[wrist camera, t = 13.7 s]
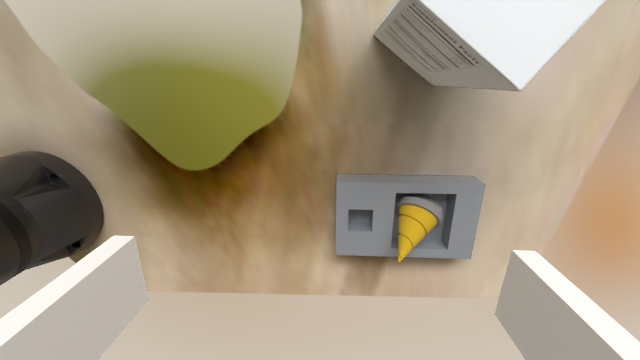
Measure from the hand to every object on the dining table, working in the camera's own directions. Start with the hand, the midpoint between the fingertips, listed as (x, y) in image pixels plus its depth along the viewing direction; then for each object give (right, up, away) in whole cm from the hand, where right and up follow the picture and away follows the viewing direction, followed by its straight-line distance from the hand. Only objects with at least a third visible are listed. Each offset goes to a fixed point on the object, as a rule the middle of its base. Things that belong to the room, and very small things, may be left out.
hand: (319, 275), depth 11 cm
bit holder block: (+11, -1, +28) cm, 30 cm away
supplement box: (+12, +20, +21) cm, 32 cm away
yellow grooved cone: (+12, -1, +28) cm, 30 cm away
